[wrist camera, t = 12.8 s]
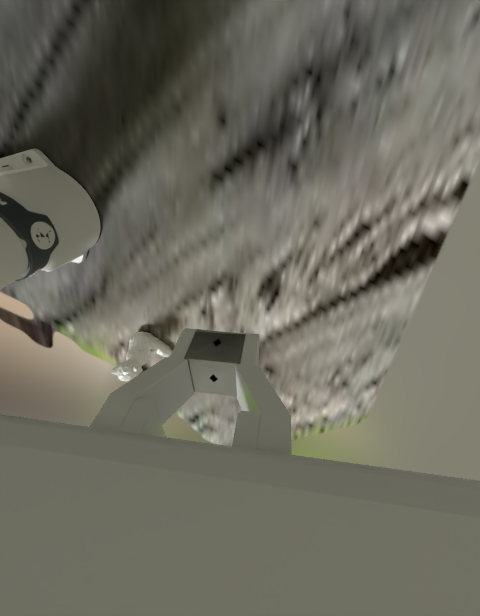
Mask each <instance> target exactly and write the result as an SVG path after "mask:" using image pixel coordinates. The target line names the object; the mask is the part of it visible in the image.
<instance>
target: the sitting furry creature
mask: <svg viewBox="0 0 480 616" xmlns="http://www.w3.org/2000/svg"><path fill="white" fill-rule="evenodd" d="M129 343H130V345H129V351H128V352H127V355H126V357H127V358H126V359H127V361H124V362H122V363H121V364H120V365H119V367H115V368H113V370H112V371H111V373H112V374H115V375H118V378H119V379H120V380H121V381H129V380H131V379H134V377H135V376H136V375H138V374H139V373H140V372H142V368H141V366H142V365H144V364H146V362H147V361H148V360H149V359H150V358H151V356H153V355H154V354H156V353H157V354H159V355H160V356H164V357H168V356H170V354H171V353H172V350H171V349H170V347H169V346H167V345H166V344H165V343H163V342H162V341H161V340H159V339H158V338H156V337H154V336H153V335H152V334H151V333H147V332H143V331H142V332H136V333H135V334H134V335H133V336H132V337H131V339H130V340H129Z"/></svg>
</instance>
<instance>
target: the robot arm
mask: <svg viewBox="0 0 480 616" xmlns="http://www.w3.org/2000/svg"><path fill="white" fill-rule="evenodd" d="M30 159H31V160H30ZM99 235H100V219H99V215H98V212H97V209H96V207H95V205H94V203H93V201H92V199H91V198H90V196H89V195H88V193H87V192H86V191H85V190H84V188H83V187H82V186H81V185H80V184H79V183H78V182H77V181H76V180H74V179H73V178H72V177H71V176H69V175H68V174H66V173H65V172H63V171H61V170H60V169H58V168H57V167H56V166H55V165H54V164H53V163H52V162H51V161H50V160H49V159H48V158H47V157H46V156H45V155H44V154H43V153H42V152H41V151H40V150H38V149H35V148H34V149H30V150H26V151H23V152H20V153H17V154H13V155H10V156H7V157H3V158H0V289H2V288H4V287H5V286H7V285H8V284H10V283H12V282H13V281H19V280H22V279H25V278H27V277H30V276H32V275H34V274H35V273H37V272H38V271H39V270H43V271H47V272H50V271H53V270H55V269H57V268H59V267H61V266H63V265H65V264H67V263H68V262H75V263H81V262H83V261H85V259H86V256H87V252H88V250H89V249H90V248H91V247H92V246H94V245H95V243H96V242H97V240H98V238H99ZM258 360H259V334H247V333H246V334H244V333H231V332H218V331H209V330H199V329H197V330H196V329H187V328H185V329H184V330H183V331H182V333H181V335H180V337H179V339H178V341H177V343H176V345H175V347H174V349H173V351H172V353H171V355H170V357H165V358H164V359H162V360H161V361H159V362H158V363H156V364H155V365H153V366H152V367H150V368H149V369H147V370H146V371H144V372H143V373H141V374H140V375H138V376H137V377H135V378H134V379H132V380H131V381H129V382H128V383H126V384H125V385H123V386H122V387H120V388H118V389H117V390H115V391H114V392H112V393H111V394H110V396H109V397H108V399H107V400H106V402H105V403H104V405H103V407H102V408H101V410H100V411H99V413H98V414H97V416H96V417H95V419H94V420H93V422H92V424H91V425H90V426H89V427H86V426H79V425H72V424H64V423H58V422H50V421H42V420H35V419H29V418H21V417H15V416H7V415H0V616H480V481H477V480H470V479H463V478H455V477H448V476H441V475H433V474H426V473H419V472H412V471H405V470H397V469H390V468H383V467H376V466H369V465H361V464H354V463H347V462H339V461H333V460H325V459H318V458H311V457H304V456H296V455H291V415H290V413H289V412H288V410H287V409H286V407H285V406H284V404H283V403H282V401H281V399H280V398H279V396H278V395H277V393H276V392H275V390H274V389H273V387H272V385H271V384H270V382H269V381H268V379H267V378H266V376H265V375H264V373H263V371H262V370H261V368H260V367H259V366H258ZM194 392H200V393H212V394H221V395H228V396H235V397H237V399H238V401H239V404H240V406H241V408H242V411H241V412H240V413H238V417H237V422H236V428H235V433H234V439H233V444H232V447H231V446H224V445H217V444H210V443H202V442H195V441H188V440H181V439H173V438H166V435H165V432H164V430H163V427H162V425H163V424H164V423H165V422H166V421H167V420H168V419H169V418H170V417H171V416H172V415H173V414H174V413H175V412H176V411H177V410H178V409H179V408H180V407H181V406H182V405H183V404H184V403H185V402H186V401H187V400H188V399H189V398H190V397H191V396H192V395H193V394H194Z"/></svg>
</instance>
